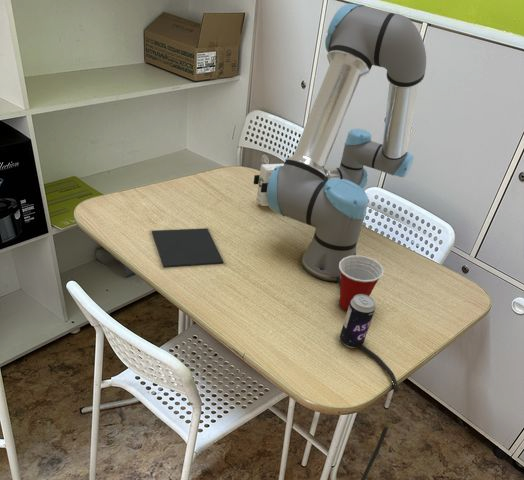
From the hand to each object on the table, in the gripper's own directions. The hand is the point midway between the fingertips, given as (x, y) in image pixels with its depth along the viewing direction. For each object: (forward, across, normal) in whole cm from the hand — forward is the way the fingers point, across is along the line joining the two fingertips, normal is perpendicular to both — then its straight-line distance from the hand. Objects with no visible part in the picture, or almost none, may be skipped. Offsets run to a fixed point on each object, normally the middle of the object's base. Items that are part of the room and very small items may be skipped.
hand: (258, 183), depth 161 cm
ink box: (-5, 0, -7) cm, 8 cm away
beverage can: (+3, -66, -8) cm, 67 cm away
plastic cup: (-4, -54, -8) cm, 55 cm away
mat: (+28, -19, -8) cm, 35 cm away
